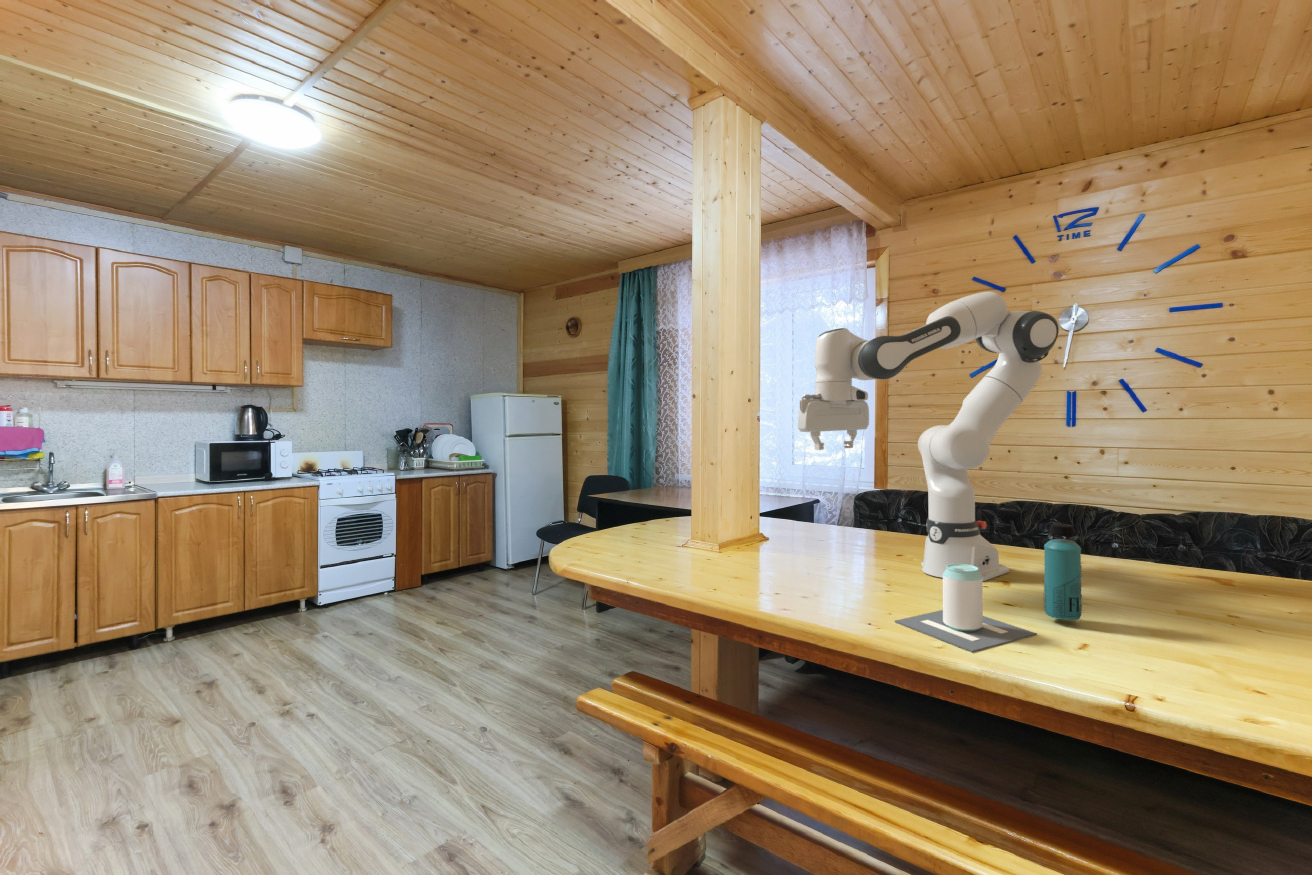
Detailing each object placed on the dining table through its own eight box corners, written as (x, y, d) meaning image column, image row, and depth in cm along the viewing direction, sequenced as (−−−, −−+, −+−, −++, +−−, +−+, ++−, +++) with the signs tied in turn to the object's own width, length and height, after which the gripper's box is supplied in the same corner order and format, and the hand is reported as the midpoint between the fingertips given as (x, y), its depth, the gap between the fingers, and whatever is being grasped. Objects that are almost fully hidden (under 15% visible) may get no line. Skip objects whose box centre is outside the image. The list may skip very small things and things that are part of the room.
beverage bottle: (1070, 630, 119) (1071, 528, 118) (1036, 620, 125) (1036, 523, 124) (1089, 623, 122) (1089, 524, 121) (1054, 614, 128) (1054, 520, 127)
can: (988, 633, 117) (988, 571, 117) (949, 632, 118) (948, 571, 118) (975, 620, 124) (975, 562, 123) (938, 619, 125) (938, 562, 125)
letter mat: (955, 608, 133) (955, 606, 133) (1036, 634, 117) (1036, 632, 117) (894, 621, 126) (894, 620, 126) (972, 652, 109) (972, 650, 109)
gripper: (808, 394, 146) (809, 451, 146) (873, 393, 154) (873, 447, 155) (791, 394, 151) (792, 450, 152) (855, 394, 160) (855, 446, 160)
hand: (834, 449), depth 153 cm, fingers open, 8 cm apart
